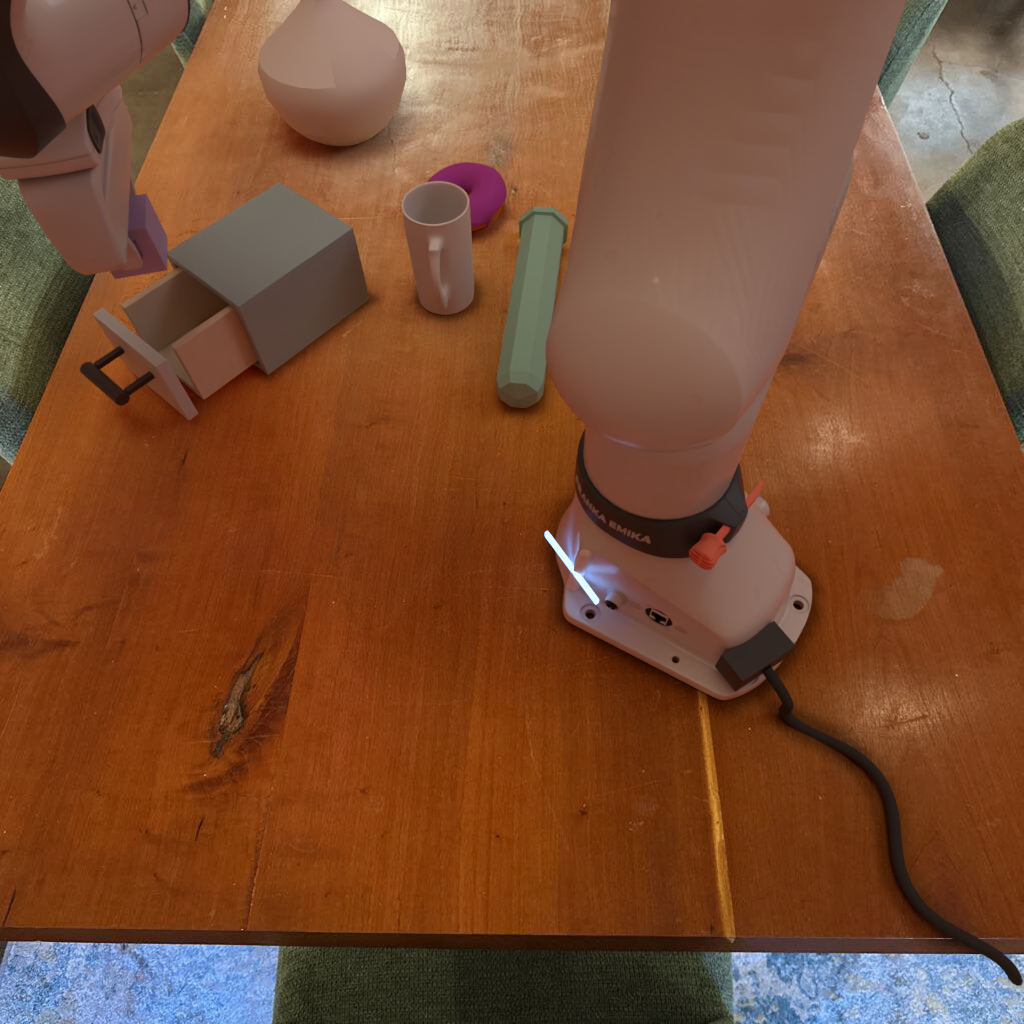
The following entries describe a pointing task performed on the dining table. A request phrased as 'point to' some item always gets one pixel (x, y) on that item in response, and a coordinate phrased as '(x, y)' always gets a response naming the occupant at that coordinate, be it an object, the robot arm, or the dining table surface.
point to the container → (531, 306)
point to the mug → (440, 245)
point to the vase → (333, 72)
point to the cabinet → (278, 271)
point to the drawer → (174, 343)
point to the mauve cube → (146, 237)
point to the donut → (477, 190)
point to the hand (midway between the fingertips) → (134, 242)
